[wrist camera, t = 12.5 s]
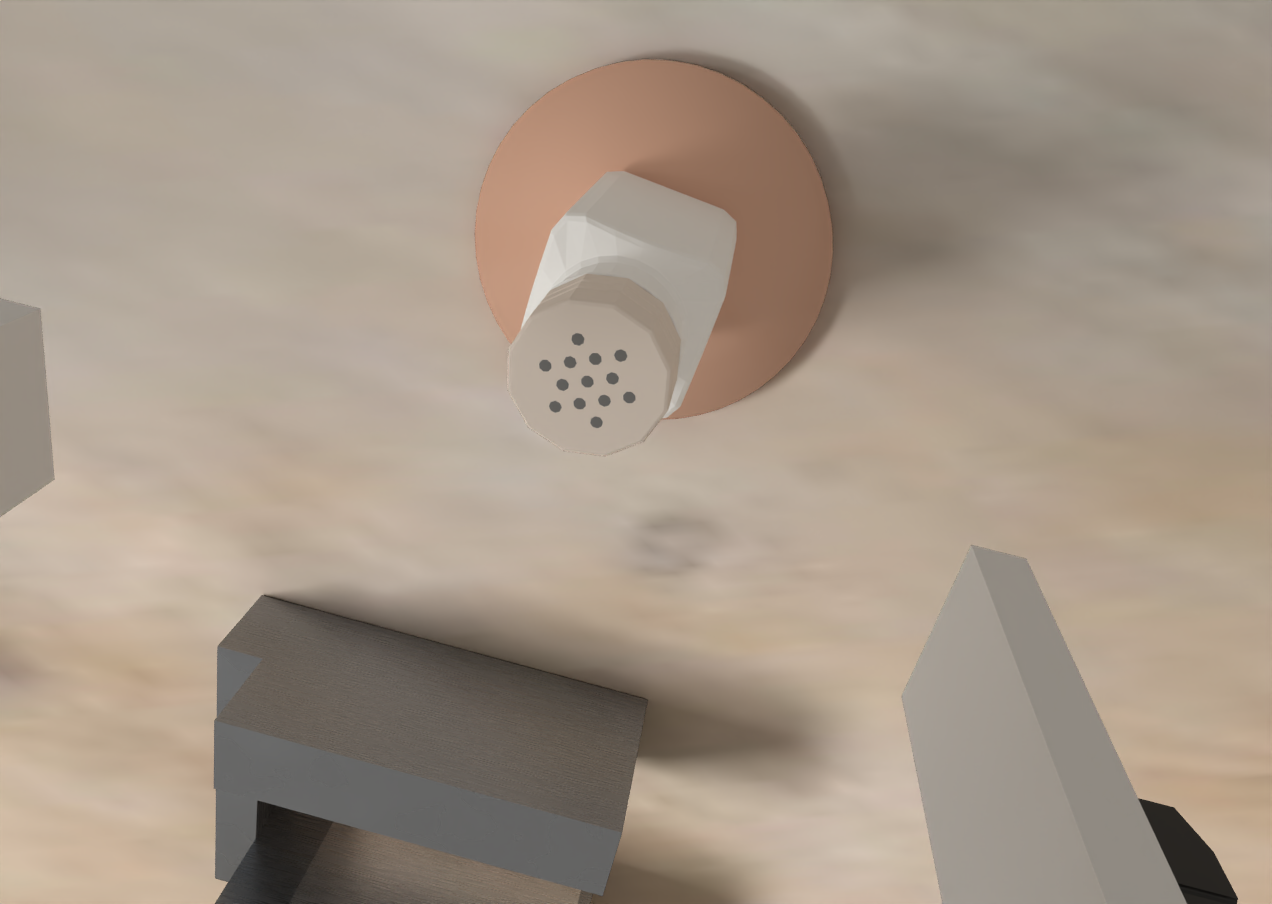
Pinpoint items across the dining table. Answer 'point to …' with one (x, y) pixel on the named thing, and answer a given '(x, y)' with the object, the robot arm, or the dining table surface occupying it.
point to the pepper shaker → (619, 314)
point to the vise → (409, 769)
